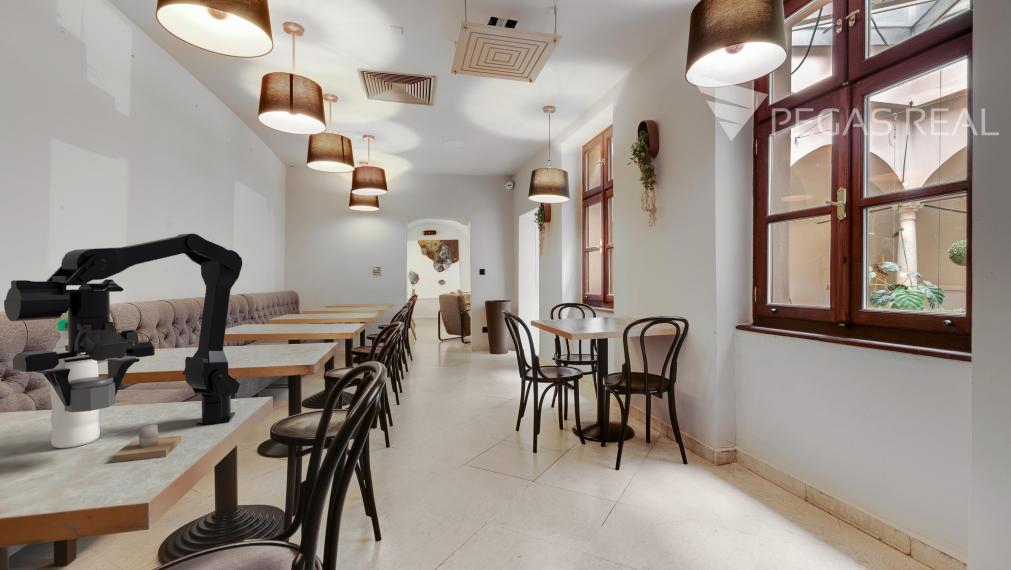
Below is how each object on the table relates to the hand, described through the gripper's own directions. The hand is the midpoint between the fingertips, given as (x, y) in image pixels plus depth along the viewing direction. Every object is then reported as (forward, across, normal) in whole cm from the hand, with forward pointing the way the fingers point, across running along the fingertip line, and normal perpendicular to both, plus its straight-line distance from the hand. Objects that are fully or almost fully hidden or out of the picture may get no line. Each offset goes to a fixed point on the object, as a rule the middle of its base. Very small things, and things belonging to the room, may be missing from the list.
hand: (90, 401), depth 84 cm
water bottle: (+10, +2, +12) cm, 16 cm away
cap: (+1, 0, 0) cm, 1 cm away
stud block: (+10, +6, -7) cm, 14 cm away
